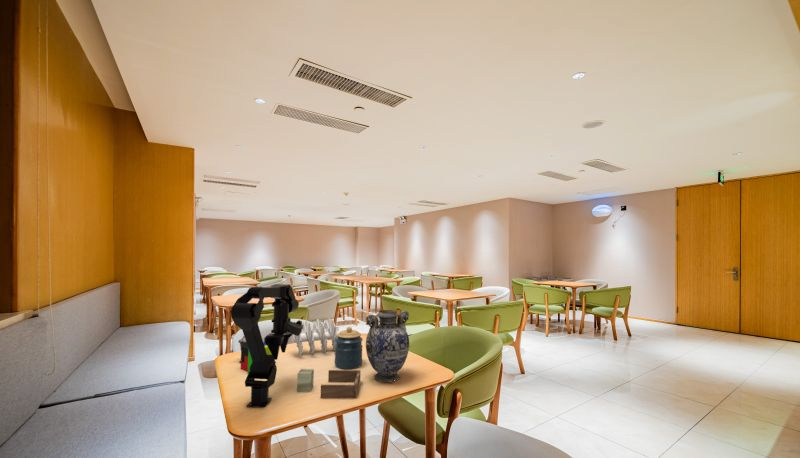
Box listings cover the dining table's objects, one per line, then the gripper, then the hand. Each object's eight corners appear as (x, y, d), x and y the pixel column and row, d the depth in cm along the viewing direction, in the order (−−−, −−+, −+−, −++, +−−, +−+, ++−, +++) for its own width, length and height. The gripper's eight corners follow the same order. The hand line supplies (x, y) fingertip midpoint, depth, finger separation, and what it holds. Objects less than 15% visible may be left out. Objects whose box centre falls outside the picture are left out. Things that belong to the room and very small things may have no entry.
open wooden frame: (356, 398, 123) (356, 385, 123) (320, 398, 123) (320, 385, 123) (360, 381, 139) (360, 370, 139) (328, 381, 139) (329, 370, 139)
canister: (365, 367, 155) (366, 328, 156) (337, 371, 150) (338, 331, 151) (358, 359, 167) (359, 323, 168) (332, 362, 162) (333, 325, 164)
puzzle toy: (261, 363, 160) (262, 341, 161) (272, 368, 154) (273, 345, 154) (240, 368, 152) (241, 346, 153) (251, 374, 146) (252, 350, 147)
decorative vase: (375, 390, 130) (376, 316, 132) (355, 376, 145) (356, 310, 148) (420, 379, 141) (420, 312, 143) (397, 367, 157) (397, 306, 159)
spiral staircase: (340, 360, 178) (292, 364, 166) (332, 338, 193) (287, 341, 181) (348, 331, 173) (298, 334, 161) (339, 311, 187) (293, 312, 175)
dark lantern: (247, 364, 158) (248, 332, 159) (234, 363, 159) (235, 331, 160) (255, 360, 164) (257, 328, 165) (243, 359, 166) (244, 328, 167)
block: (310, 392, 128) (310, 373, 128) (297, 392, 128) (297, 373, 128) (313, 386, 133) (313, 368, 133) (300, 386, 133) (301, 368, 133)
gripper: (294, 320, 125) (293, 363, 124) (307, 311, 144) (306, 349, 143) (264, 320, 125) (262, 363, 124) (281, 311, 143) (279, 349, 142)
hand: (279, 355), depth 133 cm, fingers open, 9 cm apart
